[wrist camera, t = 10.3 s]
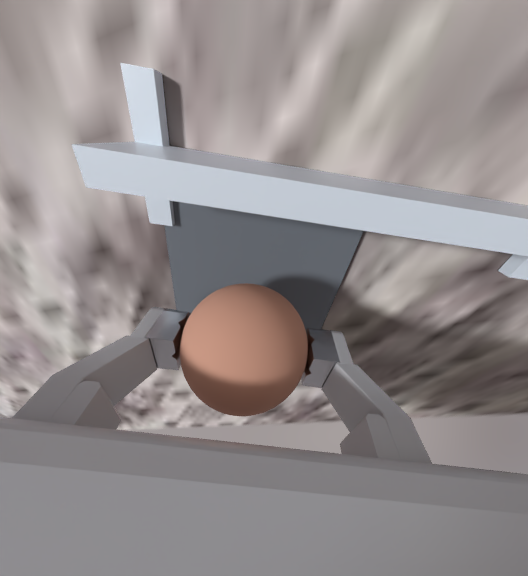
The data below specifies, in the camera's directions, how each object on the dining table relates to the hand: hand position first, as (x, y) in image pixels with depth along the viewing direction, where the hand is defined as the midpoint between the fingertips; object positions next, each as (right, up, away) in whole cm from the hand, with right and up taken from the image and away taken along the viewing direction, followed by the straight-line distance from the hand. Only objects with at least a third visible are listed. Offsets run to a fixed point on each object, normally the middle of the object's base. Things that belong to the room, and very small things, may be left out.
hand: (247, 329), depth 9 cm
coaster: (0, +2, +3) cm, 3 cm away
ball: (0, +1, +1) cm, 2 cm away
